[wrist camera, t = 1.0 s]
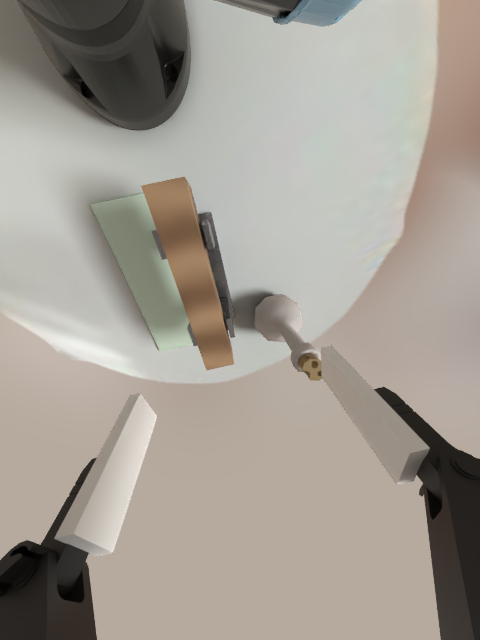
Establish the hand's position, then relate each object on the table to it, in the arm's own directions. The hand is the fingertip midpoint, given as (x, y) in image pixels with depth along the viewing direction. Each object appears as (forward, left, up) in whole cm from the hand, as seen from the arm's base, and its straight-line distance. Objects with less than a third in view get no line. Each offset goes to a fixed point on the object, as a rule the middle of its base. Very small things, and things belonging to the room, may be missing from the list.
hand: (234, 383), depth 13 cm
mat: (-4, -12, -23) cm, 26 cm away
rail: (-4, -3, -15) cm, 16 cm away
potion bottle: (+6, +9, -23) cm, 25 cm away
